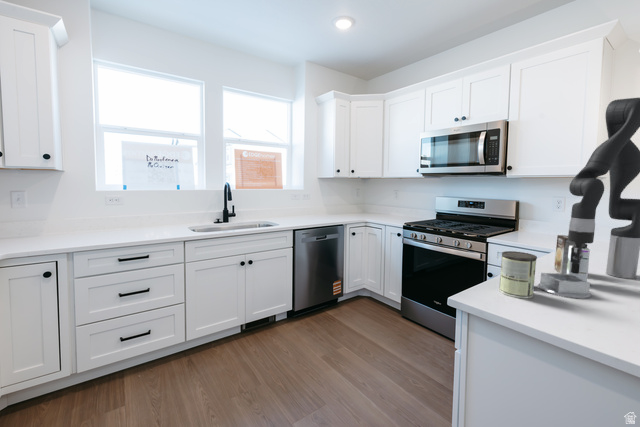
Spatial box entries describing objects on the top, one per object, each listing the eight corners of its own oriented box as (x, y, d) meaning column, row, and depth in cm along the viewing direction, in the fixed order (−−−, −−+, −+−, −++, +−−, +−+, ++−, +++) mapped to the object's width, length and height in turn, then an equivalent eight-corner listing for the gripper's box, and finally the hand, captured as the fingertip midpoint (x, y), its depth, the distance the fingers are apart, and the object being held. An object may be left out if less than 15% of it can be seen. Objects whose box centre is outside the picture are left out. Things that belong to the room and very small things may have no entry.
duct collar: (529, 282, 118) (530, 270, 117) (569, 284, 117) (571, 272, 116) (555, 297, 103) (556, 283, 103) (602, 299, 102) (604, 285, 101)
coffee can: (495, 286, 113) (498, 250, 112) (527, 290, 110) (531, 252, 108) (502, 296, 103) (505, 256, 102) (537, 300, 100) (541, 259, 99)
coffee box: (553, 269, 138) (556, 234, 136) (570, 270, 136) (574, 235, 134) (561, 274, 130) (564, 238, 128) (579, 276, 127) (583, 239, 126)
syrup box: (587, 286, 115) (591, 249, 113) (567, 283, 118) (571, 247, 116) (583, 282, 119) (587, 246, 118) (565, 279, 123) (568, 244, 121)
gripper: (573, 227, 124) (569, 266, 126) (564, 230, 115) (560, 272, 116) (597, 229, 118) (593, 270, 120) (590, 233, 109) (585, 277, 111)
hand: (576, 271), depth 118 cm, fingers closed on syrup box, 6 cm apart
